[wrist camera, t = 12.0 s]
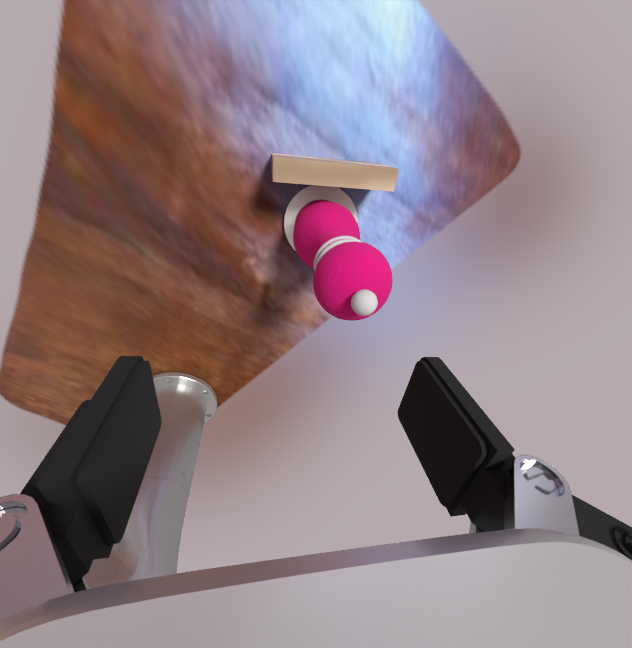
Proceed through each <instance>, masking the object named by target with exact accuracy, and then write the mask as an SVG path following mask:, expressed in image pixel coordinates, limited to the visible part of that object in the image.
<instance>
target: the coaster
mask: <svg viewBox="0 0 632 648" xmlns="http://www.w3.org/2000/svg"><path fill="white" fill-rule="evenodd" d="M320 199H323V200H328V201H331V202H334V203H338V204H340V205H342V206H344V207H345V208H347V209H348V210H349V211H350V212H351V214H352V215H353V216H354V218H355V220H356V222H357V223H358V220H357V212H356V208H355V206H354V203H353V202H352V200H351V198H350V197H349V196H348V195H347V194H346V193H345V192H344V191H343V190H341V189H340V188H338V187H331V186H319V185H310V186H307V187H305V188H304V189H302V190H300V191H299V192H298V193H297V194H296V195H295V196H294V197H293V198H292V200H291V201H290V203H289V204H288V206H287V209H286V212H285V216H284V229H285V234H286V237H287V239H288V242H289V243H290V245H291V246H292V248H293V249H294V250H295V251H296V249H295V247H294V243H293V231H294V226H295V220H296V216H297V214H298V213H299V211H300V210H301V208H302V207H304V206H305V205H306V204H307V203H309V202H311V201H314V200H320Z"/></svg>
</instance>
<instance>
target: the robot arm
mask: <svg viewBox="0 0 632 648" xmlns="http://www.w3.org/2000/svg"><path fill="white" fill-rule="evenodd" d="M217 402H218V401H217V396H216V393H215V391H214V390H213V389H212V387H211V386H210V385H209V384H207V383H206V382H205V381H203V380H202V379H200V378H197V377H195V376H193V375H189V374H185V373H178V372H167V373H160V374H157V375H153V376H152V371H151V367H150V363H149V361H144V360H143V358H142V357H141V356H121V357H119V358H118V359H117V361H116V362H115V364H114V365H113V367H112V368H111V370H110V371H109V373H108V375H107V376H106V378H105V379H104V381H103V382H102V384H101V385H100V387H99V388H98V390H97V391H96V393H95V394H94V396H93V398H92V399H91V400H86V401H84V402H83V403H82V404H81V405H80V406H79V408H78V409H77V411H76V412H75V414H74V415H73V417H72V418H71V419H70V421H69V422H68V424H67V425H66V427H65V429H64V430H63V431H62V433H61V434H60V436H59V437H58V439H57V440H56V442H55V443H54V445H53V446H52V448H51V449H50V450H49V452H48V453H47V455H46V456H45V458H44V459H43V461H42V462H41V464H40V465H39V467H38V468H37V470H36V471H35V473H34V474H33V475H32V477H31V478H30V480H29V481H28V483H27V484H26V486H25V487H24V489H23V490H22V492H21V493H20V494H12V495H8V496H3V497H0V648H632V527H630V526H628V525H626V524H625V523H623V522H621V521H619V520H617V519H615V518H614V517H612V516H610V515H608V514H606V513H604V512H602V511H601V510H599V509H597V508H595V507H593V506H592V505H590V504H588V503H586V502H584V501H582V500H581V499H579V498H577V497H575V496H573V495H572V494H571V490H570V487H569V485H568V483H567V482H566V480H565V479H564V477H563V476H562V475H561V474H560V473H559V472H558V471H557V470H556V469H555V468H553V467H552V466H551V465H549V464H548V463H546V462H545V461H543V460H541V459H539V458H536V457H534V456H530V455H520V456H518V457H517V458H515V457H514V456H513V454H512V452H513V451H514V448H513V447H512V446H511V445H510V443H509V442H508V441H507V440H506V438H505V437H504V436H503V435H502V434H501V433H500V431H499V430H498V429H497V428H496V426H495V425H494V424H493V423H492V421H491V420H490V419H489V418H488V417H487V415H486V414H485V413H484V412H483V410H482V409H481V408H480V407H479V406H478V404H477V403H476V402H475V401H474V399H473V398H472V397H471V396H470V394H469V393H468V392H467V391H466V390H465V388H464V387H463V386H462V385H461V383H460V382H459V381H458V380H457V378H456V377H455V376H454V375H453V374H452V372H451V371H450V370H449V369H448V368H447V366H446V365H445V364H444V363H443V361H442V360H441V359H440V358H438V357H423V358H421V360H420V361H418V362H417V363H416V365H415V368H414V371H413V373H412V376H411V378H410V381H409V383H408V386H407V389H406V391H405V394H404V396H403V399H402V401H401V404H400V406H399V409H398V417H399V420H400V422H401V424H402V426H403V428H404V430H405V432H406V434H407V436H408V438H409V440H410V442H411V444H412V446H413V448H414V450H415V453H416V455H417V457H418V459H419V461H420V463H421V465H422V467H423V469H424V471H425V473H426V475H427V477H428V478H429V481H430V483H431V485H432V487H433V489H434V491H435V493H436V495H437V497H438V499H439V501H440V503H441V504H442V505H443V506H445V507H446V508H447V510H448V512H449V514H450V516H458V515H465V514H466V513H467V514H468V516H469V518H470V520H471V521H470V530H469V534H462V535H455V536H447V537H439V538H432V539H423V540H416V541H408V542H400V543H393V544H386V545H379V546H370V547H364V548H356V549H349V550H341V551H334V552H326V553H319V554H312V555H305V556H298V557H290V558H283V559H275V560H269V561H261V562H255V563H247V564H240V565H233V566H226V567H219V568H212V569H205V570H197V571H190V572H185V573H178V574H177V561H178V552H179V545H180V538H181V531H182V526H183V521H184V516H185V511H186V505H187V501H188V497H189V492H190V487H191V482H192V477H193V473H194V468H195V463H196V457H197V453H198V448H199V444H200V439H201V433H202V429H203V424H205V423H206V422H208V421H209V420H210V419H211V418H212V417H213V415H214V414H215V412H216V409H217Z"/></svg>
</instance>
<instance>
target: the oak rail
mask: <svg viewBox="0 0 632 648" xmlns="http://www.w3.org/2000/svg"><path fill="white" fill-rule="evenodd" d="M398 170H399V169H397V168H393V167H389V166H386V165H382V164H378V163H367V162H357V161H347V160H336V159H326V158H315V157H305V156H295V155H284V154H274V153H272V178H273V182H281V183H294V184H306V185H319V186H331V187H344V188H356V189H369V190H381V191H394V189H395V184H396V179H397V175H398Z"/></svg>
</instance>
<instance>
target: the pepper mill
mask: <svg viewBox="0 0 632 648" xmlns="http://www.w3.org/2000/svg"><path fill="white" fill-rule="evenodd" d="M293 243H294V247H295V249H296V252H297V253H298V255H299V257H300V258H301V260H302V261H303V262H304V263H305V264H306V265H308V266H309V267H311V268H313V269H314V275H313V287H314V293H315V295H316V298H317V300H318V302H319V303H320V305H321V306H322V307H323V308H324V309H325V310H326V311H327V312H328V313H330V314H331V315H333V316H335V317H337V318H339V319H344V320H360V319H364V318H367V317H369V316H371V315H373V314H374V313H376V312H377V311H378V310H379V309H380V308H381V307H382V306H383V305H384V303H385V302H386V300H387V299H388V296H389V294H390V291H391V288H392V272H391V269H390V266H389V264H388V262H387V260H386V258H385V257H384V255H383V254H382V253H381V252H380V251H379V250H377V249H376V248H374V247H373V246H371V245H369V244H366V243H363V242H362V241H360V232H359V227H358V223H357V222H356V220H355V218H354V216H353V215H352V214H351V212H350V211H349V210H348V209H347V208H345V207H344V206H342V205H340V204H338V203H334V202H331V201H328V200H323V199H320V200H314V201H311V202H309V203H307V204H306V205H305V206H304V207H302V208H301V210H300V211H299V213H298V214H297V216H296V220H295V226H294V231H293Z"/></svg>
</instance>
